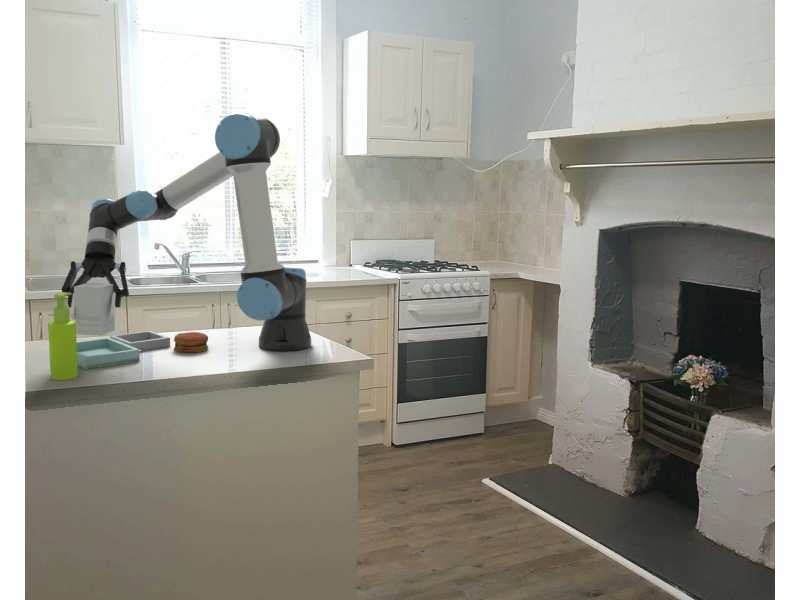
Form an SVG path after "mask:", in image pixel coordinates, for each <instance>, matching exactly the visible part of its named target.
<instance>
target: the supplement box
mask: <svg viewBox="0 0 800 600" xmlns="http://www.w3.org/2000/svg"><path fill="white" fill-rule="evenodd" d="M113 293H114V288H113V284H109V283H103V282H102V283H99V282H87V283H85V284H81V285H78V286H75V287H74V299H75V320H74V321H75V322H76V335H83V336H84V335H85V336H101V337H102V336H105V335H108V334H111V332H114V331H115V330H116V328H115V327H116V326H115V324H116V322H115V319H116V318H115V319H113V320H112V318H111V314H110V313H111V304H112V294H113Z"/></svg>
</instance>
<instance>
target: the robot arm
mask: <svg viewBox="0 0 800 600" xmlns="http://www.w3.org/2000/svg"><path fill="white" fill-rule="evenodd" d="M214 132H215V133H214V141H215V142H214V143H215V145H216V148H217V150H218V151H219V152H218V153H216V154H214V155H212V156H210V157H209V158H208V159H206V160H204V161H203V162H202V163H200V164H198V165H197V166H195V167H194V168H192V169H190V170H189V171H187V172H185V174H183V175H181V176H180V177H178V178H176V179H175V180H173V181H172V182H170V183H169V184H167V185H165V186H164V187H162V188H161V189H159V190H158V191H156V192H154V193H151V192H150V191H148V190H147V189H142V188H141V189H139V190H137V191H132V192H130V193H129V194H127V195H125V196H123V197H121V198H119V199H117V200H112V199H109V198H104V199H102V198H99V199H97V200H96V201H94V202H93V203H92V205H91V208H90V209H91V210H90V213H89V223H88V228H87V229H88V230H87V237H86V243H85V244H86V245H85V246H86V247H85V251H84V259H83V260H82V261H81V262H76V261H73V260H72V261H70V269H69V271H68V274H67V276H66V278H65V280H64V282H63V284H62V287H61V290H60V291H61V292H68V293H72V294H71V295H67V296H66V297H67V307H69V308H70V310H69V313H70V319H71V321H75V299H74V287H75V286H78V285H81V284H85V283H88V281H90V280H91V279H92V278H101V279H102V278H103V279H104V278H106V280H107V282H108V284H113V288H114V293H113V294H112V304H111V313H110V314H111V318H112V320H113V319H116V311H117V308H121V304H122V303H121V302H122V298H123V297H129V296H130V292H129V288H128V282H127V278H126V271H127V265H126V262H125V261H122V262H120V263H119V262H118V263H116V261H115V260H116V249H117V242H118V232H119V230H122V229H124V228H127V226H130V225H132V224H135V223H139V222H149V221H165V220H168V219H172V218H173V217H175V216H176V215H177V213H178V210H180V209H182V208H183V207H186V206H187V205H188V204H190V203H191V202H193V201H195V200H196V199H198V198H200V197H202V196H203V195H204V194H205V195H206V193H208V192H209V191H211V190H213V189H214V188H217V186H219V185H221V184H223V183H224V182H226V181H227V180H229V179H231V178H233V184H234V190H235V198H236V206H237V212H238V213H237V214H238V219H239V230H240V235H241V241H242V242H241V243H242V249H243V250H242V251H243V258H244V266H243V268H242V269H241V270H240V279H241V284H240V286H239V287H238V289H237V294H236V301H237V304H238V307H239V309H240V311H241V312H242V313H243V314H244V315H245V316H247V317H248V318H250V319H252V320H255V321H263V324H262V326H261V331H260V335H258V347H260V348H261V349H264V350H266V351H267V350H268V351H277V352H289V351H290V352H292V351H294V352H295V351H300V350H301V351H302V350H304V349H308V348H310V347H311V346H312V336H311V333H310V330H309V327H308V326H309V325H308V323H307V319H306V307H307V305H306V304H307V303H306V302H307V301H306V300H307V282H308V281H307V274H306V271H305V269H303V268H300V267H285V265H283V263H281V262H279V260H278V254H277V247H276V246H277V245H276V240H275V239H276V237H275V232H274V231H275V230H274V224H273V215H272V209H271V207H272V206H271V199H270V193H269V184H268V176H267V170H268V169H269V168H270V167H271V165H272V163H271V158H272V157H273V156H274V155H276V153H277V151H278V150H279V147H280V142H281V137H280V133H279V130H278V128H277V126H276V125H275V124H274V123H273V121H271V120H269V119H267V118H266V117H262V116H256V115H252V114H250V113H246V112H236V113H231V114H228V115H226V116H224V117H223V118H222V119H221V120H220V122H219V123H218V124H217V126H216V129H215V131H214ZM81 269H83V271H82V273H81V275H80V276H79V277H78V278H77V275H78V273H79V272H80V271H81ZM115 269H116V270H117V272H118V273H119V275H120V280H121V286H122V289H120V287H119V286H118V284H117V281H116V280H115V278H114V276H113V274H112V272H113V271H114V270H115ZM76 278H77V280H76Z"/></svg>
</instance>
